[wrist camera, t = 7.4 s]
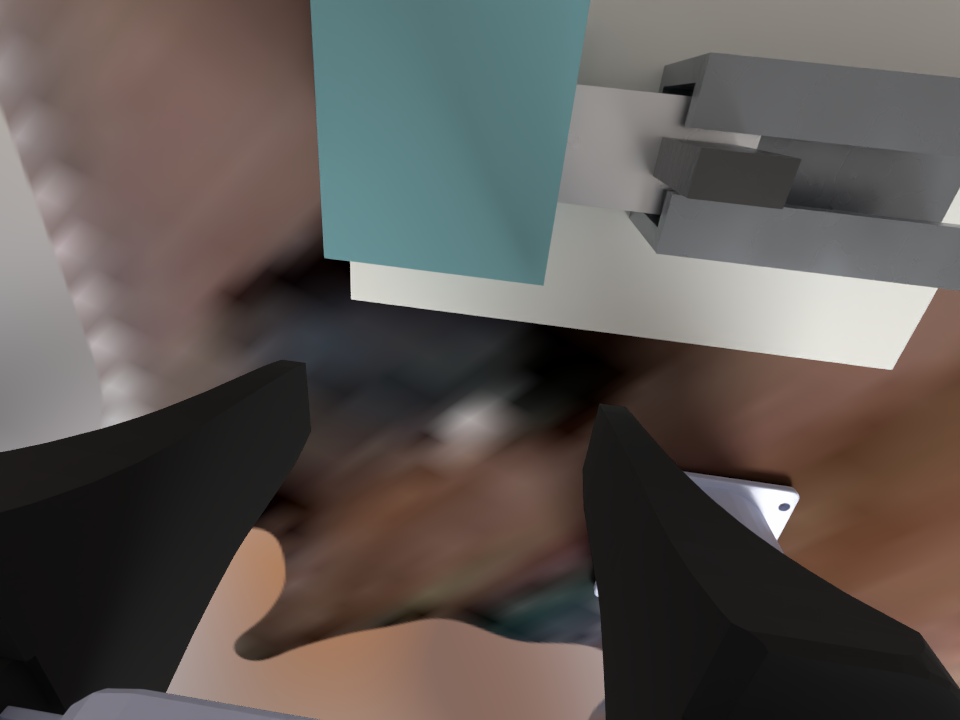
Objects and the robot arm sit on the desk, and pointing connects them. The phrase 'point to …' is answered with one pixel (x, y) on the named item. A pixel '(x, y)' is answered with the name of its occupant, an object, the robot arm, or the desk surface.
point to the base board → (697, 282)
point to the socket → (444, 130)
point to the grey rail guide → (825, 170)
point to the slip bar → (662, 156)
